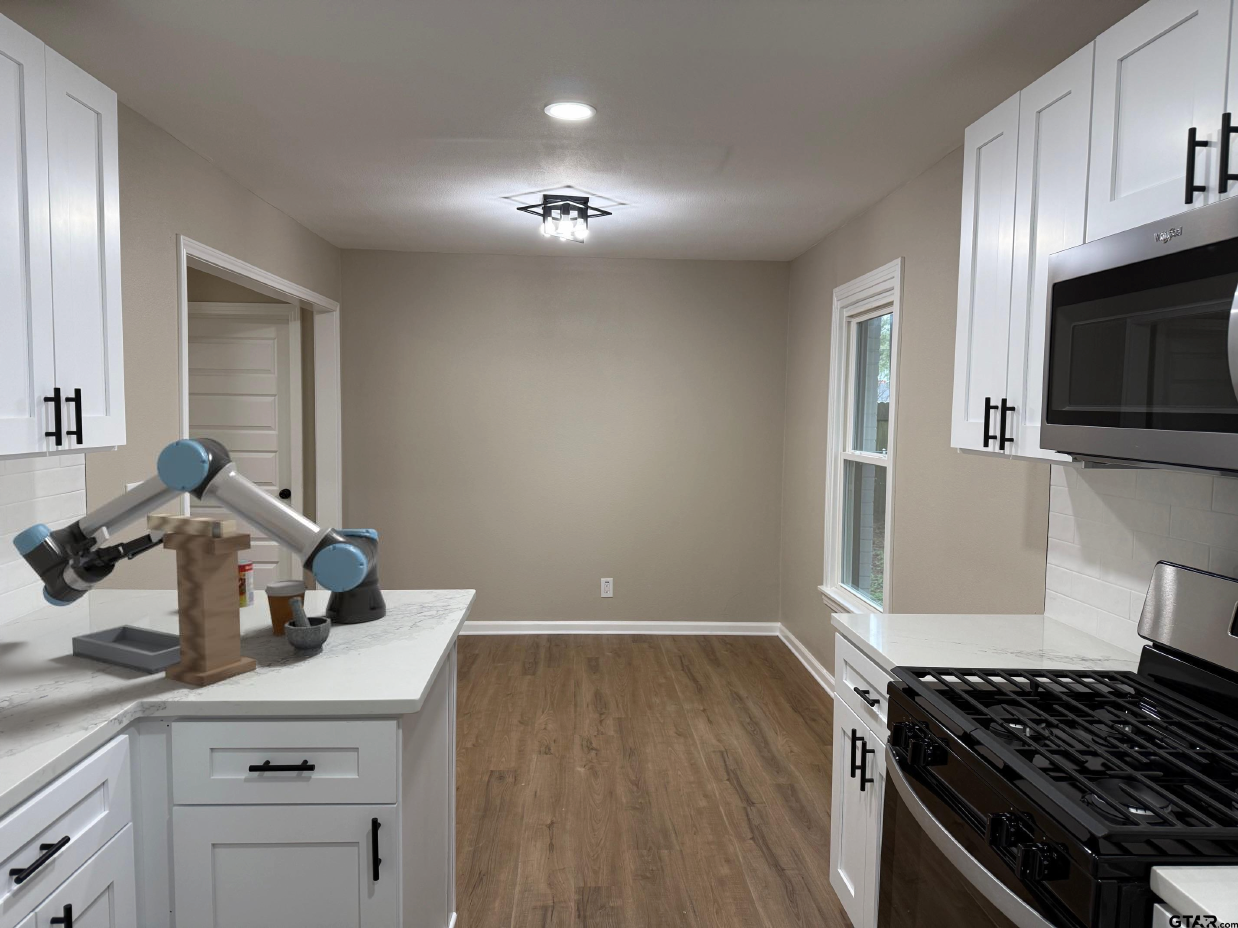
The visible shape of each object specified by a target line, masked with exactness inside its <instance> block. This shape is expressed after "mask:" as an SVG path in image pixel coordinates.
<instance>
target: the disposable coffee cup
mask: <svg viewBox="0 0 1238 928" xmlns="http://www.w3.org/2000/svg"><path fill="white" fill-rule="evenodd" d="M306 584H307V583H306V582H305V580H302V579H300V580H299V579H284V580H283V579H282V580H276V581H271V582H269V583H267V584H266V588H265V589H264V592H265V594H266V596H267V602H268V608H269V615H270V621H271V625H272V631H273V634H274V635H276V636H285V623H286V622H288V621H291V620H294V617H293V613H292V608H291V605H290V604H289V602H288V601H289V600H290V599H292V598H295V597H300V598H301V600H302V601H301V603H302V606H303V608H304V607H305V599H306V598H305V597H306V592H307V589H308V585H306ZM304 609H305V608H304Z"/></svg>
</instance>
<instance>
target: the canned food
mask: <svg viewBox="0 0 1238 928" xmlns="http://www.w3.org/2000/svg"><path fill="white" fill-rule="evenodd" d="M253 568H254V567H253V560H252V559H247V558H246V559H244V558H242V559H240V558H238V579H239V609H240V608H246V607H250V606H252V605H254V604H255V599H254V598H255V597H254V595H255V594H254V569H253Z"/></svg>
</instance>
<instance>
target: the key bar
mask: <svg viewBox="0 0 1238 928" xmlns="http://www.w3.org/2000/svg"><path fill="white" fill-rule="evenodd" d="M146 530H149V531H150V530H159V531H168V533H173V532H177V533H185V534H194V535H203V536H212V537H218V538H219V537H221V538H224V537H231V536H236V533H237V521H236V520H234V519H222V518H211V517H202V516H201V517H200V516H191V515H181V514H180V515H179V514H169V513H155V514H154V513H151V514H149V515H147V516H146Z"/></svg>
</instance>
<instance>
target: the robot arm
mask: <svg viewBox="0 0 1238 928" xmlns="http://www.w3.org/2000/svg"><path fill="white" fill-rule="evenodd" d="M156 470H157V473H156V474H155V475H152V477H149V478H148V479H146V480H144V481H143V482H141V483H139V484H137V485H136V486H134V487H132V488H131V489H129V490H128V491H125V492H124V493H122V494H120V495H119V496H117V497H115V498H114V499H112V500H111V501H109V502H107V503H105V504H103V505H102V506H100V507H99V508H96V509H95V510H92V512H90V513H88V514H85V516H83V517H81V518H79V519H77V520H76V521H74V522H72V523H70V524H69V525H66V526H64V527H62V528H60V529H56V530H52V529H50V528H49V527H48V526H47V525H46V524H44V523H38V524H34V525H32V526H30V527H28V528H26V529H24V530H23V531H21V532H20V533H18V534H17V535H16V536H14V538H13V539H12V544H13V546H14V547H15V549H16V550H17V552H18V553H19V555H20V556H21V557H22V558H23V559H24V560H25V562H26V563H27V564H28V565H29V566H30V568H32V570H33V571H34V572H35V573H36V575H38V577H39V578H40V580H41V581H42V582H43V583H44V585H43V588H42V595H43V598H44V600H45V601H46V602H47V603H48V604H50V605H52V606H56V607H68V606H70V605H72V604H74V603H75V602H76V601H78V600H80V599H81V598H83V597H84V595H86V594H87V593H88V592H89V591H91V590H92V589H93V588H94V587H96V586H97V585H98V584H100V583H101V581H102V580H104V579H105V578H107V577H108V576H109V575H110V574H111V573H113V571H114V570H115V567H116V565H117V564H116V563H118V562H119V561H121V560H123V559H124V560H125V559H127V561H130V560H133V559H135V558H136V557H137V556H139V555H142V554H143V553H145V552H147V551H150V550H152V549H153V548H155V547H157V546H159V545H162V544H163V534H166V533H169V532H168V531H159V530H150V529H149V531H148V533H147V534H144V535H141V536H139V537H137V538H134V539H132V540H130V541H128V542H127V541H126V542H119V543H117V544H116V543H115V544H113V545H109V546H106V547H101V546H102V545H103V544H105V543H106V542H107V541H108V540H110V538H111V537H113V536H114V535H116V534H118V533H119V532H121V531H123V530H124V529H126V528H128V527H130V526H131V525H133V524H135V523H136V522H138V521H140V520H142V519H144V518H145V517H147V515H151V514H153V513H155V512H156V511H157V510H159V509H161V508H163V507H164V506H166V505H168V504H170V503H171V502H173V501H174V500H177V498H180V497H181V496H183V495H184V494H186V493H187V494H189V495H190V496H192V497H194V498H196V499H197V500H198V501H200V502H202V503H210V502H214V503H216V505H218V506H220V507H222V508H223V509H225V510H226V511H228V512H229V513H231V514H232V515H234V516H236V517H237V518H239V520H241V521H243V522H245V523H246V524H247V525H249V526H250V527H252V528H254V529H255V530H257V531H259V533H261V534H263V535H265V536H266V537H268V539H271V540H272V541H274V542H275V543H277V544H278V545H280V546H281V547H283V548H284V549H286V550H288V551H289V552H290V553H292V554H293V555H295V556H297V557H298V558H299V559H300V565H301V567H302V568H303V569H305V570H306V571H307V572H309V573H311V574H313V577H314V579H315V581H316V583H317V584H318V586H321V587H322V589H323V588H324V589H325V590H328V591H330V594H329V597H328V600H327V603H326V604H327V605H326V607H325V618H328V619H330V621H331V623H338V624H339V623H340V624H354V623H355V624H356V623H365V622H371V621H374V620H377V619H381V618H383V617H384V616H386V615H387V605H386V602H385V599H384V596H383V593H382V591H381V588H380V579H379V541H380V540H379V537H378V531H377V530H376V529H374V528H363V529H362V528H360V529H359V528H356V529H355V528H351V529H335V528H334V527H332V526H330V527H324V528H323V527H322V526H321V527H320V526H319V525H318V524H316V523H315V522H313V521H312V520H311V519H309V518H307V517H305V516H304V515H303V514H301V513H299V512H298V511H297V510H295V509H293V508H292V507H290V506H289V505H287V503H284V502H283V501H282V500H280V499H279V498H277V497H276V496H274V495H272V494H271V493H269V492H268V491H266V490H264V489H263V488H262V487H260V486H259V485H257V484H256V483H254V482H252V481H251V480H249V479H248V478H247V477H245V476H244V475H242V474H241V473H239V472H238V470H237V463H236V462H234V461H232V460H231V455H230V453H229V450H228V449H227V448H226V446H224V444H222V443H221V442H219V441H218V440H216V439H213V438H210V437H209V438H208V437H198V438H185V439H178V440H176V441H174V442H172V443H169V444H168V445H166V446H165V447H164V448H162V451H161V452H160V453H159V455H158V457H157V461H156ZM120 548H121V549H120ZM121 550H122V551H121Z"/></svg>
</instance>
